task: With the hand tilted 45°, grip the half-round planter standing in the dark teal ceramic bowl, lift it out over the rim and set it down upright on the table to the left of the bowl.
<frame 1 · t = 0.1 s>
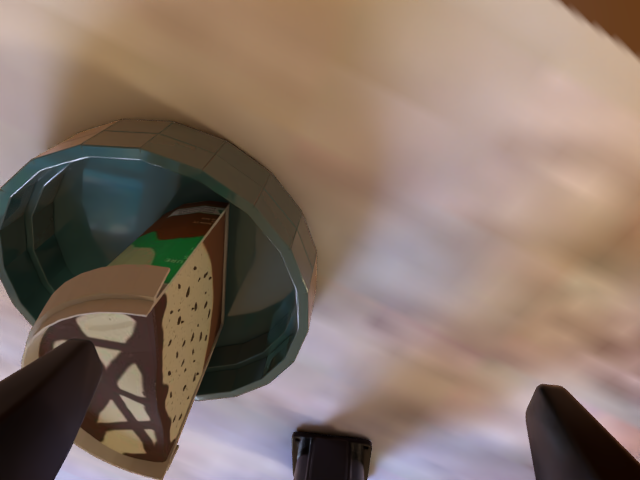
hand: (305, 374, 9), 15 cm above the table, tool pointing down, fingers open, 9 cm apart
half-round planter: (178, 257, 26), resting on bowl
bowl: (179, 256, 26), on the table
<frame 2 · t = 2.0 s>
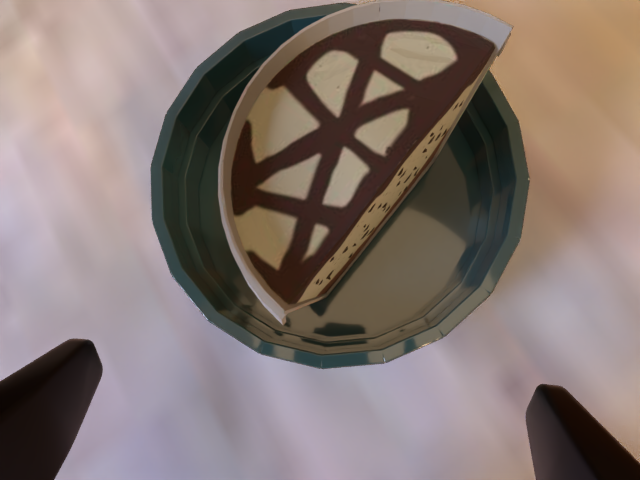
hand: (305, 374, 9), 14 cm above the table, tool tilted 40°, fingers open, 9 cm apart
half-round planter: (336, 195, 23), resting on bowl
bowl: (336, 195, 23), on the table
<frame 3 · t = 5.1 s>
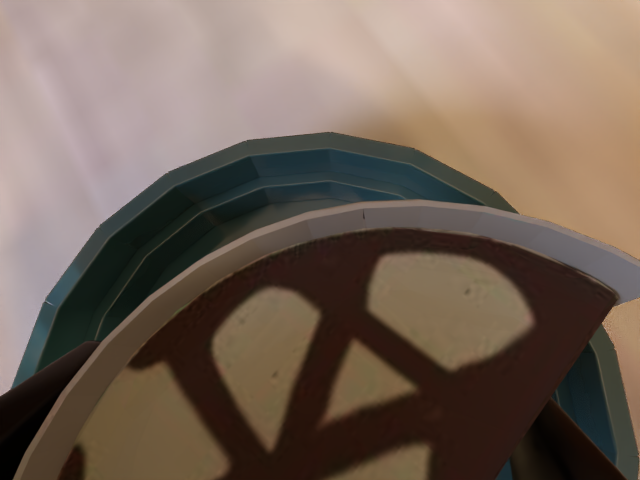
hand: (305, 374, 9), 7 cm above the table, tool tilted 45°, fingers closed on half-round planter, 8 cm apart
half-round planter: (315, 402, 15), resting on bowl, touching gripper
bowl: (316, 400, 15), on the table
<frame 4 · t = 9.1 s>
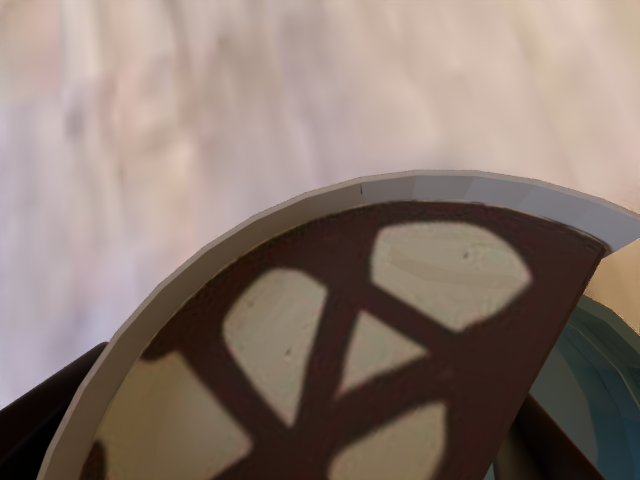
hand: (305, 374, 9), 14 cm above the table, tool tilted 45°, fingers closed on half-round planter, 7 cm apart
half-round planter: (319, 393, 15), point 6 cm above the table, touching gripper
bowl: (461, 454, 20), on the table
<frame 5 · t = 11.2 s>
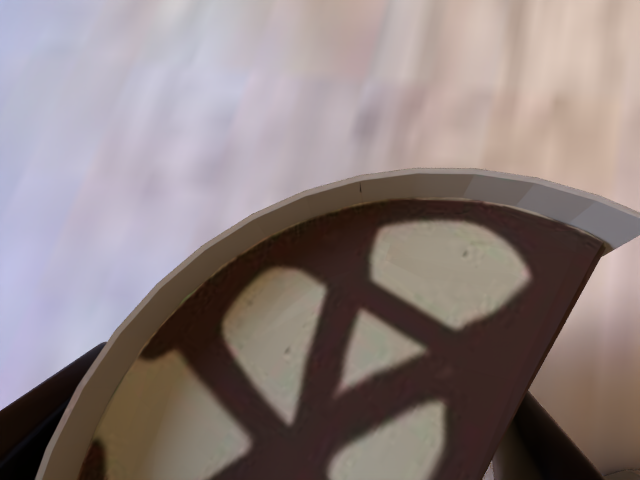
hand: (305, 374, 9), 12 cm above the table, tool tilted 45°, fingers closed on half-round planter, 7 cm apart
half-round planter: (319, 392, 15), point 5 cm above the table, touching gripper
when the fingers open (7 cm above the table, at t = 13.2 s): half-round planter stays where it is, on the table.
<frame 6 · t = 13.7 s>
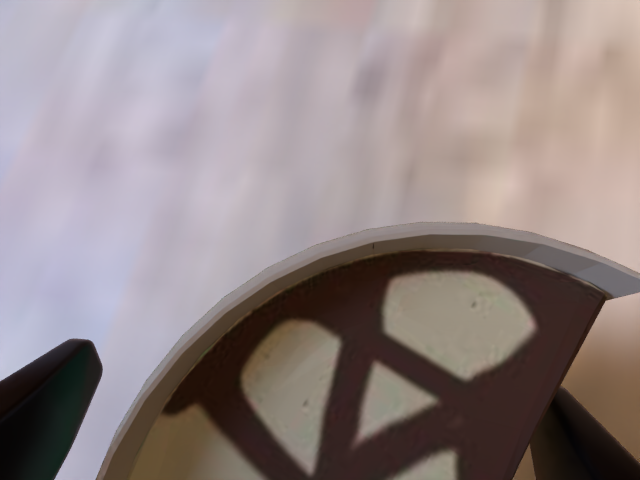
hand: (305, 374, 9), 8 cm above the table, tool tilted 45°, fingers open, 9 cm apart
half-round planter: (321, 393, 16), on the table
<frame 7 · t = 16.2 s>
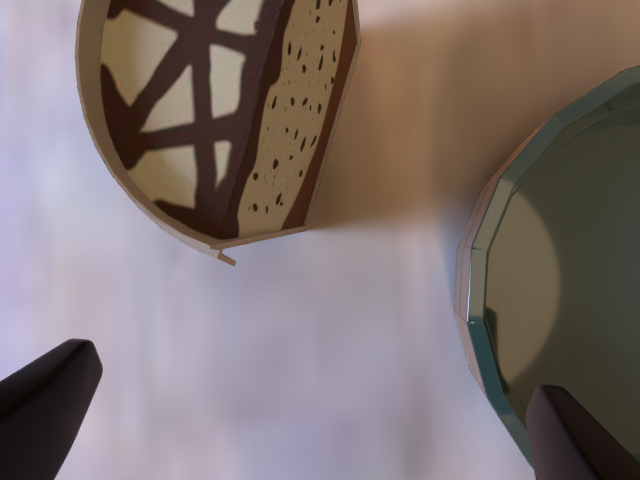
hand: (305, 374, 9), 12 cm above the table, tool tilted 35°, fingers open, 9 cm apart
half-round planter: (275, 123, 21), on the table
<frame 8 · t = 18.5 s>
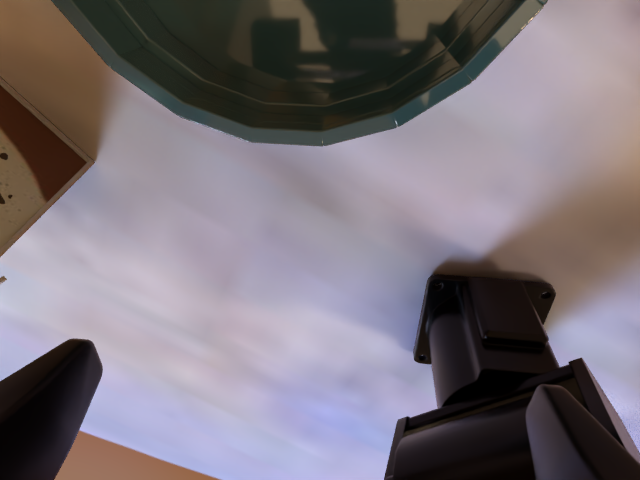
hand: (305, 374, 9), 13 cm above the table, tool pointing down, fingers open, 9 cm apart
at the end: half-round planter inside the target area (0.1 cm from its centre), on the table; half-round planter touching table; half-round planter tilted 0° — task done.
